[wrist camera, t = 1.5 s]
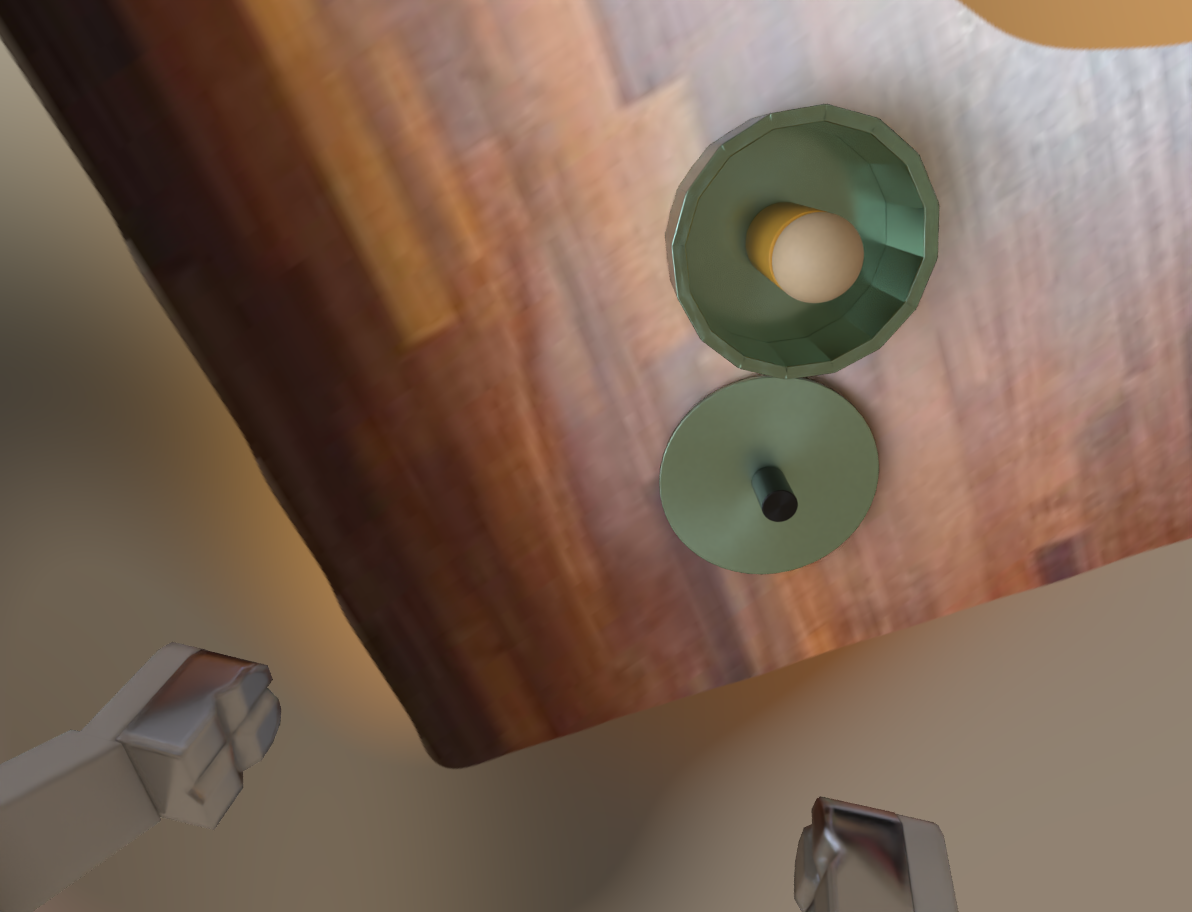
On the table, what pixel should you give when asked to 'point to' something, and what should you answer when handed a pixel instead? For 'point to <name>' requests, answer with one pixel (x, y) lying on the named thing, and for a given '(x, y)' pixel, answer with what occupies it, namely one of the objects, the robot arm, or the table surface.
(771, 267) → the toy
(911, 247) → the pot
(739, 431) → the lid
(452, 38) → the table surface
